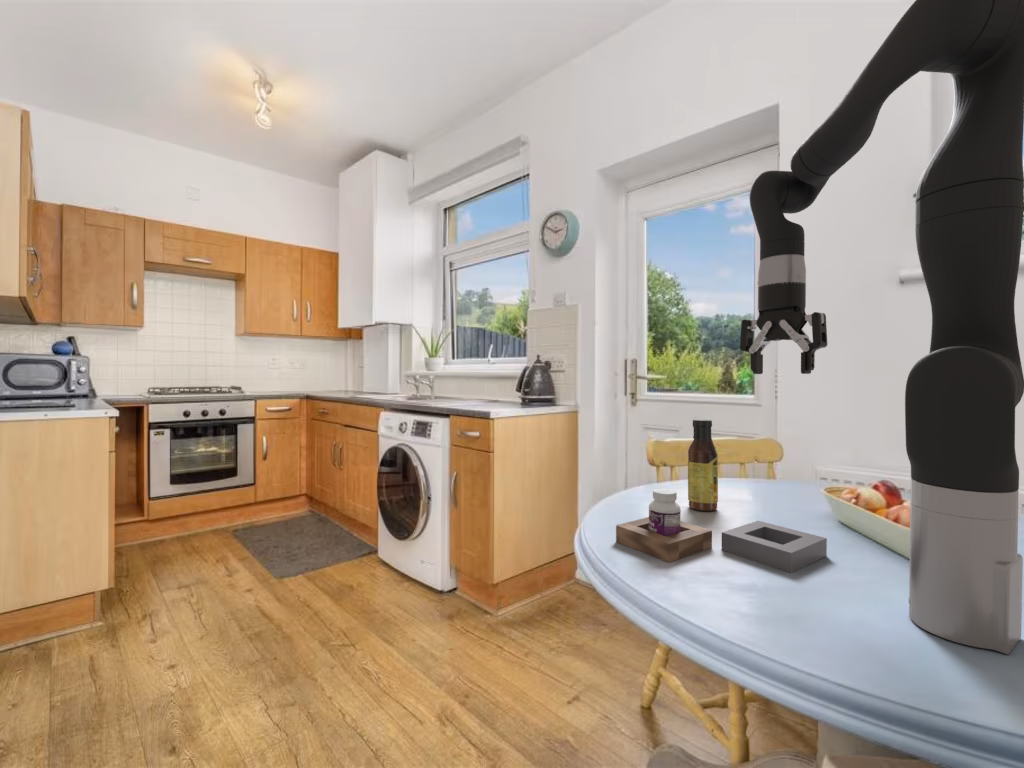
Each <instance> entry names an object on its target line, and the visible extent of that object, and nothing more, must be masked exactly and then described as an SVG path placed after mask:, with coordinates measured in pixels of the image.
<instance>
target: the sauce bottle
mask: <svg viewBox="0 0 1024 768" xmlns="http://www.w3.org/2000/svg"><path fill="white" fill-rule="evenodd" d="M692 427H693V436H692V438H693V440H692V442H691V443H690V446H689V447H688V450H687V451H688V453H687V454H688V455H687V456H688V458H687V459H688V460H687V493H688V494H687V499H688V507H689V508H690V507H691V509H693V510H696V511H699V512H701V511H703V512H711V511H715V510H717V509H718V502H719V471H718V470H719V467H718V465H719V464H718V463H719V459H718V457H719V456H718V453H717V451H716V448H715V445H714V442H713V439H712V427H713V420H712V419H705V418H704V419H703V418H702V419H692Z"/></svg>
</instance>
